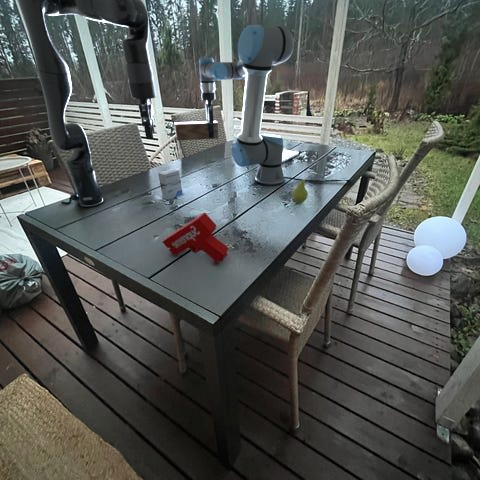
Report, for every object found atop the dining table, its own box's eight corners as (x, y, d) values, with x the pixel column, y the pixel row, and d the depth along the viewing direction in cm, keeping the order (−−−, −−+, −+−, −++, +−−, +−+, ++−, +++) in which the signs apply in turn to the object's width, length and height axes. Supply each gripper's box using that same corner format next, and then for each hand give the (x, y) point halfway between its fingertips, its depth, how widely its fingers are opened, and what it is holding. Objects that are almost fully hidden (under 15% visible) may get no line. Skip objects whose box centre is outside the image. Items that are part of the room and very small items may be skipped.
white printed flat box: (278, 164, 168) (279, 155, 165) (234, 155, 185) (234, 147, 183) (298, 154, 186) (299, 146, 183) (256, 147, 204) (256, 139, 201)
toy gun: (235, 250, 84) (205, 211, 80) (230, 257, 81) (199, 217, 77) (197, 268, 94) (169, 235, 90) (191, 276, 91) (162, 241, 87)
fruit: (288, 200, 123) (290, 174, 116) (302, 197, 125) (305, 172, 119) (296, 206, 118) (299, 179, 111) (310, 203, 120) (314, 177, 114)
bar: (216, 136, 163) (216, 120, 158) (218, 138, 158) (217, 122, 154) (176, 138, 159) (174, 122, 154) (176, 140, 154) (174, 124, 149)
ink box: (177, 191, 132) (173, 167, 126) (183, 194, 129) (179, 170, 123) (161, 196, 127) (157, 172, 121) (167, 199, 124) (163, 174, 118)
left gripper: (131, 80, 89) (141, 132, 97) (124, 82, 77) (137, 141, 86) (155, 79, 90) (162, 131, 99) (152, 81, 78) (161, 140, 87)
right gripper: (199, 90, 154) (202, 133, 167) (203, 93, 138) (206, 140, 151) (212, 90, 155) (214, 132, 168) (217, 93, 140) (219, 139, 153)
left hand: (150, 136), depth 92 cm, fingers open, 8 cm apart
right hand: (210, 136), depth 160 cm, fingers closed on bar, 6 cm apart
